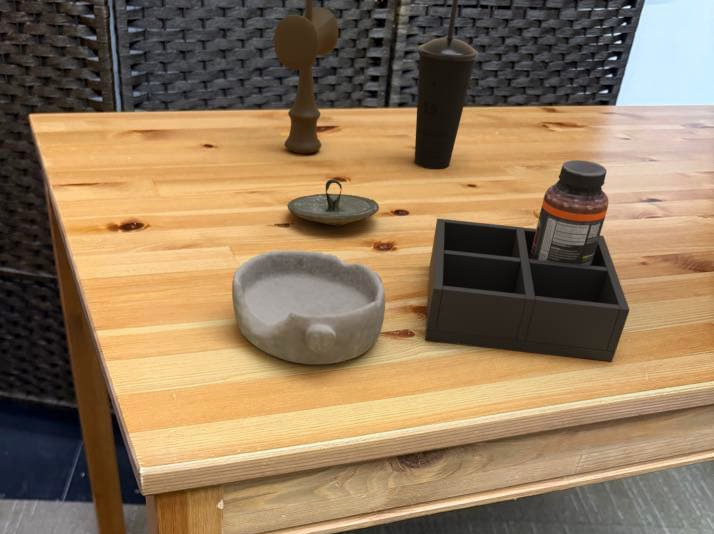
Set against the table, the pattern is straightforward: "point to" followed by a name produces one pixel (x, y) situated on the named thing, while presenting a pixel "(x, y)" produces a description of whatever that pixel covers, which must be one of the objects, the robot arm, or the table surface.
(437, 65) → the drinking cup
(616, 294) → the compartment organizer box
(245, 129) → the table surface
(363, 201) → the lid
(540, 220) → the supplement bottle
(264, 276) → the dish
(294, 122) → the kendama
